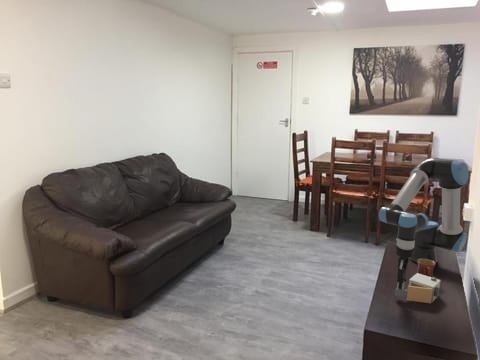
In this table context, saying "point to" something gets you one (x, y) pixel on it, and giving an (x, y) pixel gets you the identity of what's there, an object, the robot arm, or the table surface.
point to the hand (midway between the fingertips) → (399, 293)
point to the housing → (426, 283)
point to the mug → (426, 267)
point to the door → (416, 294)
